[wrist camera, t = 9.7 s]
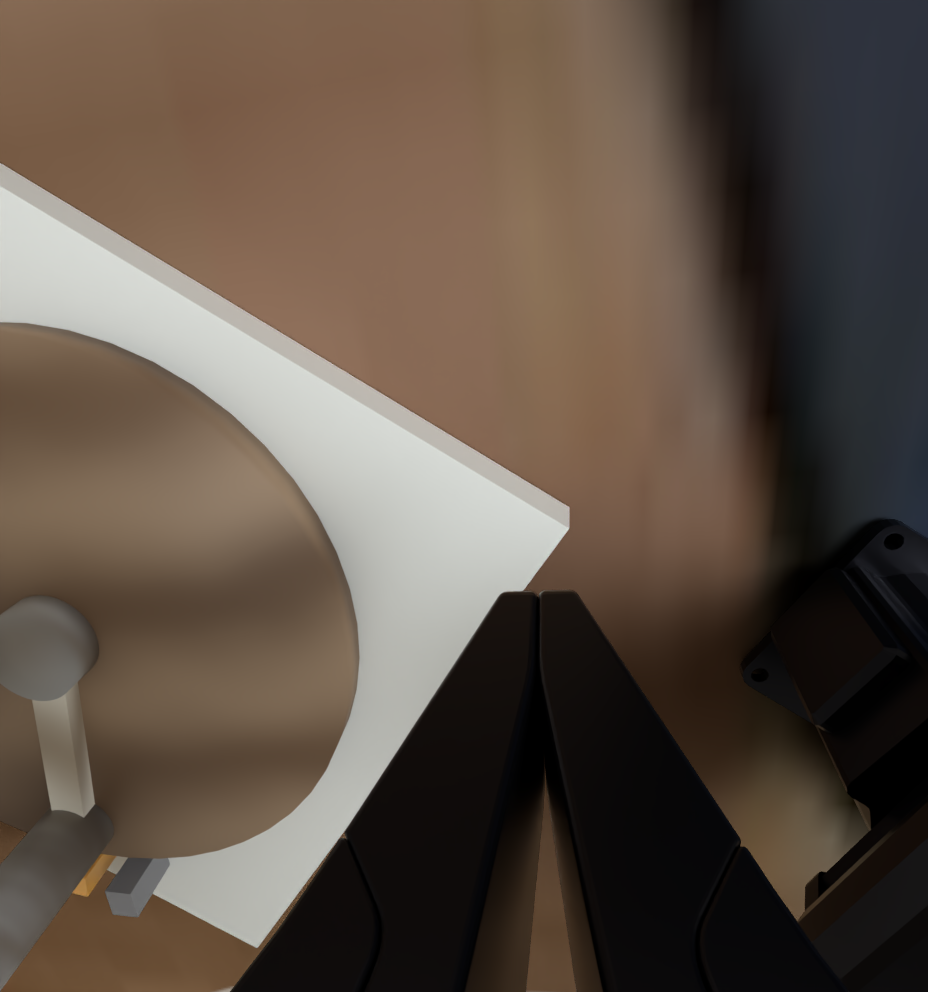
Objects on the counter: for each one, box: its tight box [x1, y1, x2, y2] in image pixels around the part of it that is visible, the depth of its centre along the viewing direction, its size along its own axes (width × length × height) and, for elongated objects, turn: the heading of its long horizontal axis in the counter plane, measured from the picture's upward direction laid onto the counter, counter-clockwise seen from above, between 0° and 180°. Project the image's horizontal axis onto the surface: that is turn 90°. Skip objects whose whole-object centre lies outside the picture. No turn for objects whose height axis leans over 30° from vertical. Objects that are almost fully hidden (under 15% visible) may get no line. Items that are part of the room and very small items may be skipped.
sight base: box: [0, 163, 569, 948], centre depth 22 cm, size 23×23×4 cm
